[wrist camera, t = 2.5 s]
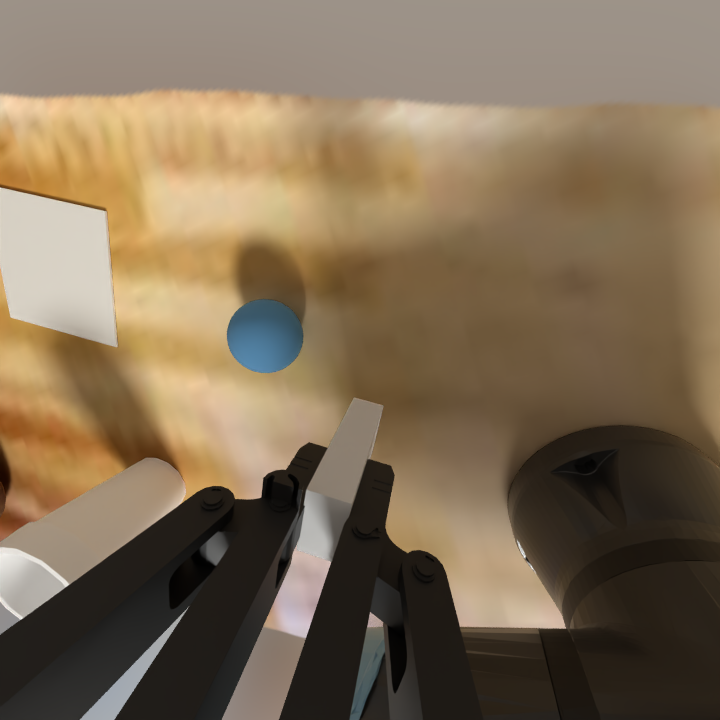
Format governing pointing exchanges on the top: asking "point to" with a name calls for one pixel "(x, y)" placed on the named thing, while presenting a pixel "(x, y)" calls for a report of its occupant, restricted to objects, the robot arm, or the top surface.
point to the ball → (265, 336)
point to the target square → (57, 265)
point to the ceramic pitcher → (2, 499)
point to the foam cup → (84, 533)
